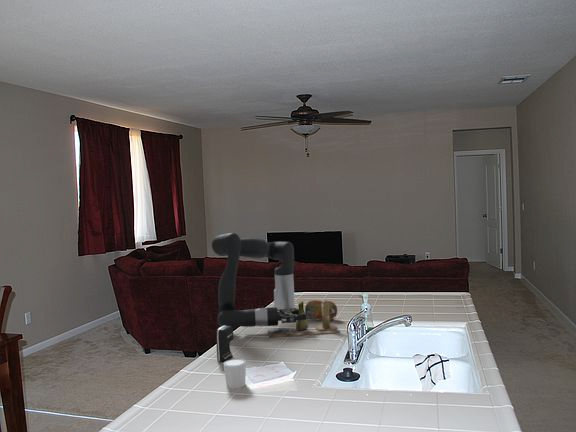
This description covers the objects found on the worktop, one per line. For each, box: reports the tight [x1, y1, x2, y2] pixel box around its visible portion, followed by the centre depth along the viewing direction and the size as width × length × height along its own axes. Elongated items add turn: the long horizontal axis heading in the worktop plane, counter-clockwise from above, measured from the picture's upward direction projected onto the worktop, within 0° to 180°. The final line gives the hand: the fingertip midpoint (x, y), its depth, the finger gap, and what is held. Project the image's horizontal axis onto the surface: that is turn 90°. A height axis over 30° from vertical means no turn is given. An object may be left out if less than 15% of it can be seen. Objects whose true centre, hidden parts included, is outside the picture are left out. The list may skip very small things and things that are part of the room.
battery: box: [215, 326, 234, 362], centre depth 180 cm, size 7×4×11 cm, turn 158°
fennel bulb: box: [295, 300, 309, 332], centre depth 214 cm, size 6×5×12 cm
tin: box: [304, 300, 338, 321], centre depth 231 cm, size 15×3×8 cm, turn 62°
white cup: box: [223, 358, 247, 390], centre depth 156 cm, size 7×7×7 cm
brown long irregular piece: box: [267, 299, 341, 339], centre depth 212 cm, size 29×12×12 cm, turn 95°
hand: (305, 314), depth 214 cm, fingers open, 8 cm apart
